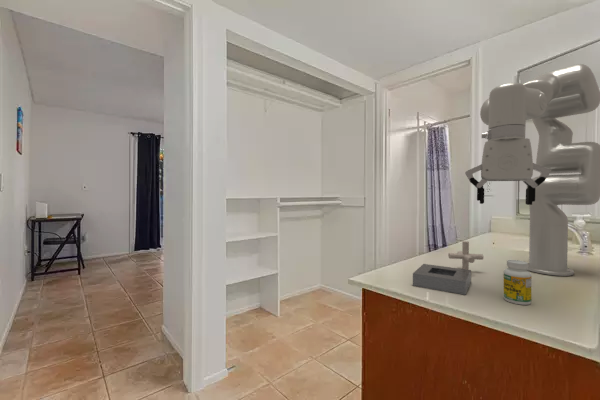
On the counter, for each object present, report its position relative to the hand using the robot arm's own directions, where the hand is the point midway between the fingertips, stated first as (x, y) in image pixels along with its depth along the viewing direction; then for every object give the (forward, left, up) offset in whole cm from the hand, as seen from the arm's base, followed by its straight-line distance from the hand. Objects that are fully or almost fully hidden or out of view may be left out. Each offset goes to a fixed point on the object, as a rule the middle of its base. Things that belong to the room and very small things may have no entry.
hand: (504, 204), depth 71 cm
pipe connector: (-20, -10, -24) cm, 33 cm away
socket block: (-2, -14, -23) cm, 27 cm away
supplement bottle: (+2, +3, -24) cm, 24 cm away
